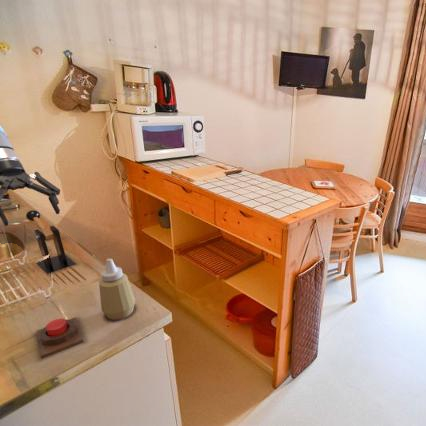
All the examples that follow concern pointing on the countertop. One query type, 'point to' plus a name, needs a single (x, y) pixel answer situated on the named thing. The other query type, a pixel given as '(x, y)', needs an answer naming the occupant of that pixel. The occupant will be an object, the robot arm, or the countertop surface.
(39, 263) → the bracket
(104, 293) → the squeeze bottle
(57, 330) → the button
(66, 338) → the button box
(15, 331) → the countertop surface
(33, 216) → the lever
